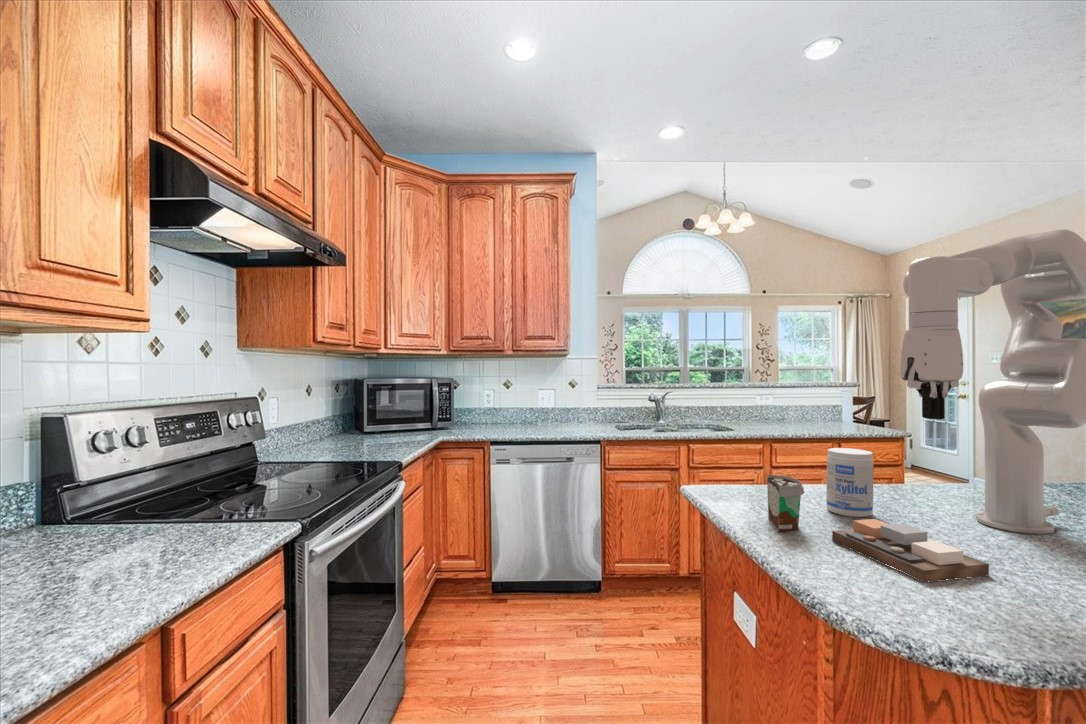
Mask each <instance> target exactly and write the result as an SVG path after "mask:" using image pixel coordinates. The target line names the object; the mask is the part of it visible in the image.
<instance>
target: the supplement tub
mask: <svg viewBox="0 0 1086 724" xmlns="http://www.w3.org/2000/svg"><path fill="white" fill-rule="evenodd" d="M826 455H827V456H826V499H825V500H826V501H825V502H826V503H825V505H826V509H827V510H828V511H830V512H832V513H834V514H837V515H841V516H844V517H852V518H865V517H866V518H867V517H870V516H872V514H873V513H874V512H873V511H874V458H873V457H874V454H873V452H872V451H869V450H865V449H858V448H851V447H850V448H849V447H848V448H847V447H832V448H828V449H827V454H826Z"/></svg>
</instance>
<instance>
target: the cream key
mask: <svg viewBox="0 0 1086 724" xmlns="http://www.w3.org/2000/svg"><path fill="white" fill-rule="evenodd" d="M912 554H915V555H917V556H920V557H922V558H924V559H925V560H927V561H929V562H932V563H934V564H937V565H946V564H956V563H963V555H964V550H963V549H960V548H956V547H954V546H951V545H948V544H945V543H943V542H940V541H938V540H937V541H936V540H929V541H928V540H927V542H916V543H912Z"/></svg>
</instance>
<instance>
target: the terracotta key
mask: <svg viewBox="0 0 1086 724" xmlns="http://www.w3.org/2000/svg"><path fill="white" fill-rule="evenodd" d="M890 524H891V523H890ZM890 524H889V523H888V522H887V523H886V522H883V521H882V520H878V519H876V518H871V519H868V518H867V519H858V520H852V525H853V527H852V529H853V531H856V532H860V533H863V534H865V535H868V536H872V537H875V538H876V539H879V538H885V537H882V536H881V528H880V525H890Z"/></svg>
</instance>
